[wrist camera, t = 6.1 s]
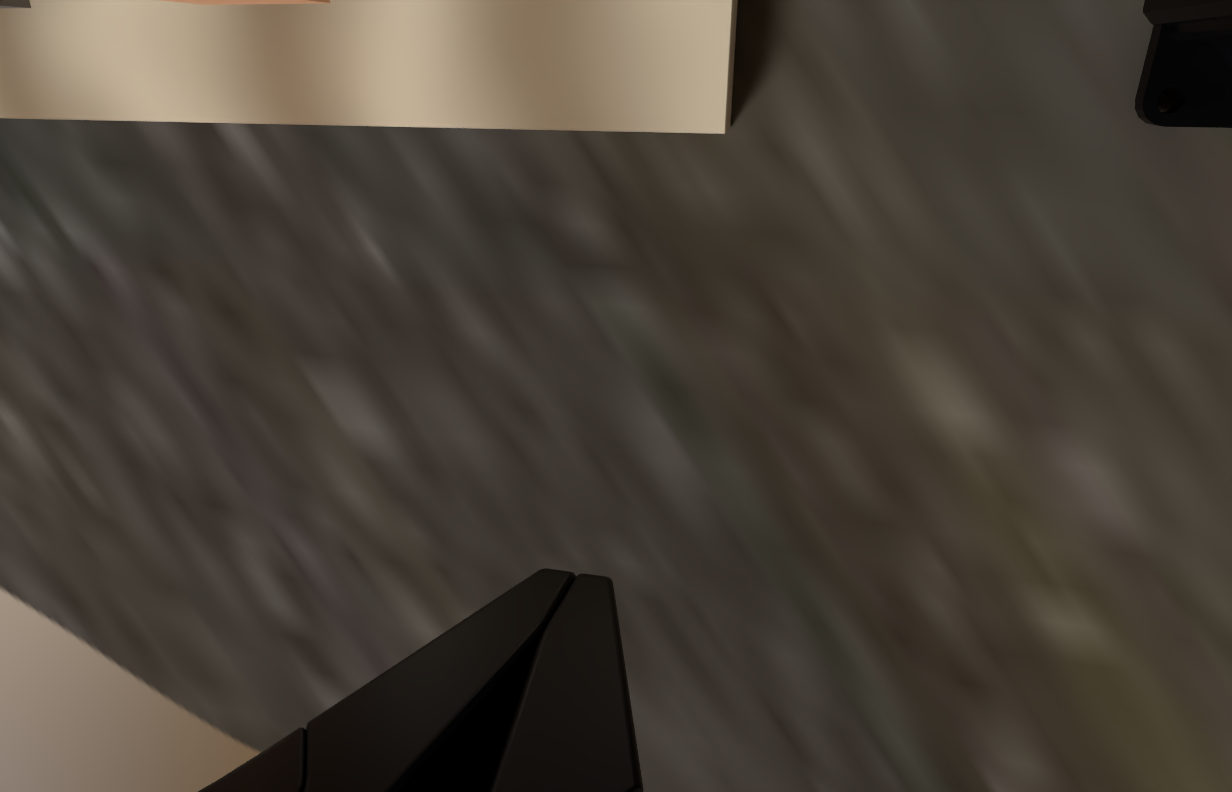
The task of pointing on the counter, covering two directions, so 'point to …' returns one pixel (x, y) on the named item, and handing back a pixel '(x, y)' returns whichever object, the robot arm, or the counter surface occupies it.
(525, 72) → the hole plate
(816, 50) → the counter surface
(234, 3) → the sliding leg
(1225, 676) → the counter surface
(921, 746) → the counter surface
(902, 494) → the counter surface
